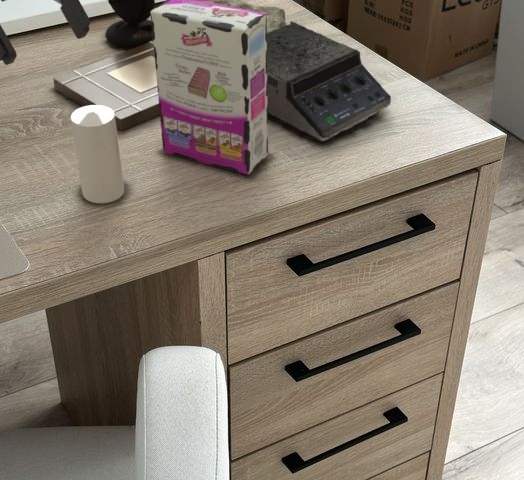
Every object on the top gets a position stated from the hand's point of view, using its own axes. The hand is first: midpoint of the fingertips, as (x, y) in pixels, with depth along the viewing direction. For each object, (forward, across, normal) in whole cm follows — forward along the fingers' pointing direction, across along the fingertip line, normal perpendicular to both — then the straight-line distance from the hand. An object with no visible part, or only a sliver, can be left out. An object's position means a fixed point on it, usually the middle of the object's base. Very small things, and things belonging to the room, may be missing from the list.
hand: (49, 47), depth 95 cm
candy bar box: (+16, +13, +4) cm, 21 cm away
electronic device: (+15, +29, +5) cm, 33 cm away
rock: (+3, +34, +17) cm, 38 cm away
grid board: (+3, +18, +16) cm, 24 cm away
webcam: (-5, +25, +25) cm, 36 cm away
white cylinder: (+14, 0, +5) cm, 15 cm away
